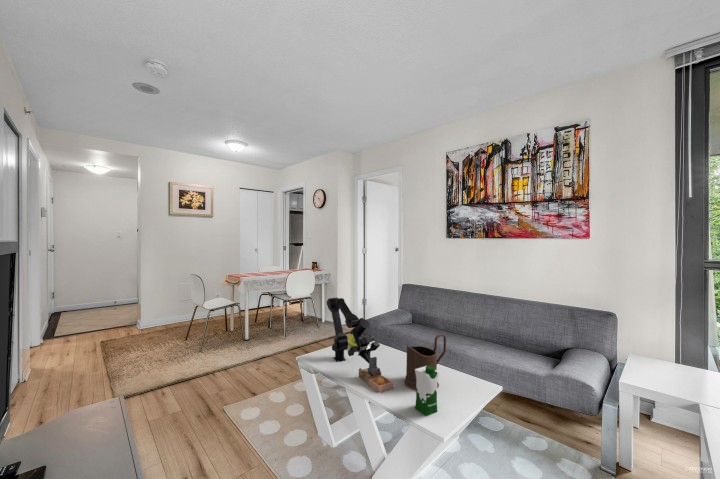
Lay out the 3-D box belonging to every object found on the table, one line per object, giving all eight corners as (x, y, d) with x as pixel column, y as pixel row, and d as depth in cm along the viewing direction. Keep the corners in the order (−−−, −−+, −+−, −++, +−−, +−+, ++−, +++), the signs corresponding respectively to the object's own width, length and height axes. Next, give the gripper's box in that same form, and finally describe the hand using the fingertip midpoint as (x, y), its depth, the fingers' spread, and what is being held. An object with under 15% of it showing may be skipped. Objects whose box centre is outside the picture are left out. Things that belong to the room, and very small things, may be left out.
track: (358, 377, 173) (358, 368, 173) (370, 374, 178) (370, 365, 178) (369, 384, 165) (369, 375, 165) (381, 381, 170) (381, 371, 170)
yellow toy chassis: (348, 344, 228) (348, 332, 228) (354, 343, 231) (355, 331, 231) (358, 351, 214) (358, 339, 214) (365, 350, 217) (366, 337, 217)
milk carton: (426, 417, 135) (426, 371, 135) (411, 408, 143) (412, 364, 143) (440, 412, 140) (441, 367, 140) (426, 402, 148) (426, 360, 148)
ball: (380, 388, 161) (376, 385, 164) (386, 385, 163) (382, 381, 167) (379, 381, 160) (374, 378, 164) (385, 378, 163) (380, 375, 166)
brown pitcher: (397, 378, 173) (398, 333, 173) (435, 372, 182) (435, 329, 182) (414, 394, 156) (415, 343, 156) (455, 386, 164) (455, 339, 164)
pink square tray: (368, 385, 165) (368, 379, 165) (382, 380, 170) (382, 375, 170) (379, 392, 157) (379, 386, 157) (393, 387, 162) (393, 382, 162)
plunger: (368, 373, 169) (368, 358, 169) (375, 371, 171) (375, 356, 171) (372, 376, 165) (372, 360, 165) (380, 374, 168) (380, 359, 168)
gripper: (350, 332, 171) (361, 359, 162) (378, 327, 181) (390, 352, 172) (343, 342, 177) (353, 369, 168) (370, 337, 188) (381, 362, 179)
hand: (369, 363), depth 172 cm, fingers closed
